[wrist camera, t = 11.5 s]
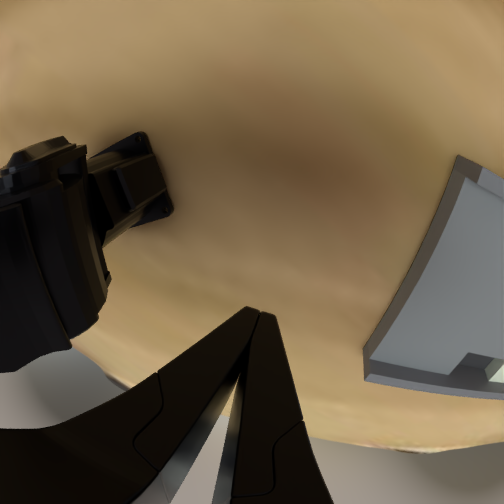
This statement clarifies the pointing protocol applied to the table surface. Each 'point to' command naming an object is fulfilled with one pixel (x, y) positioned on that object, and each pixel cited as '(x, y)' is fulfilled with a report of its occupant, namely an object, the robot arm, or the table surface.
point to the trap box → (450, 298)
